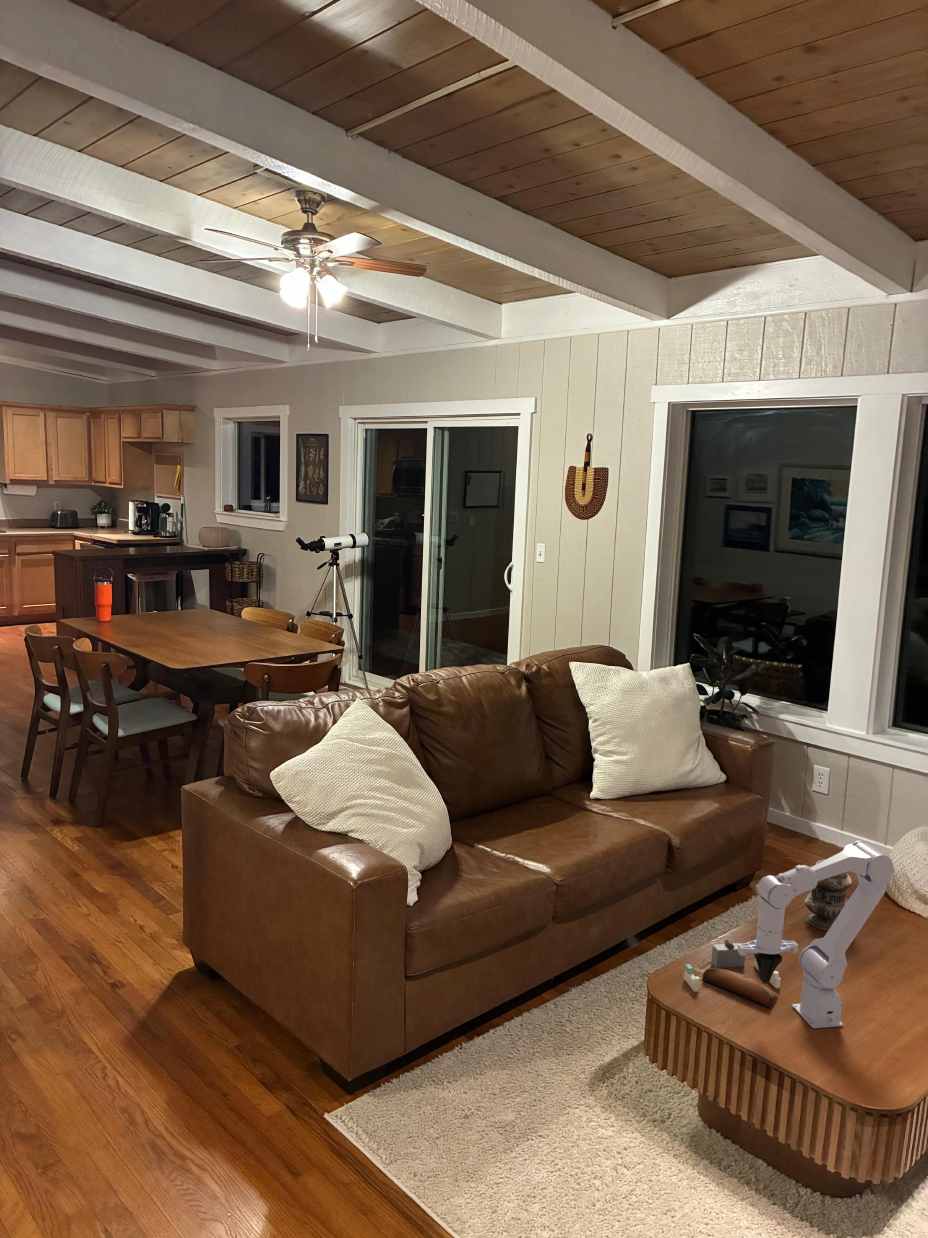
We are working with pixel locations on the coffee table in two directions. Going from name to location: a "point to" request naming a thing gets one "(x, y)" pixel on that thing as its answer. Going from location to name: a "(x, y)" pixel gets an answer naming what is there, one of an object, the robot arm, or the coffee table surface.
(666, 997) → the coffee table surface
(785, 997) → the coffee table surface
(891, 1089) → the coffee table surface
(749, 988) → the sunglasses case
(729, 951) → the grey block
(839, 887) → the apothecary jar
